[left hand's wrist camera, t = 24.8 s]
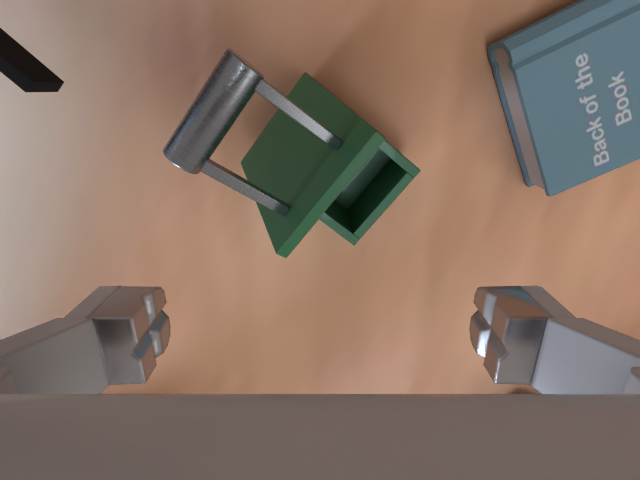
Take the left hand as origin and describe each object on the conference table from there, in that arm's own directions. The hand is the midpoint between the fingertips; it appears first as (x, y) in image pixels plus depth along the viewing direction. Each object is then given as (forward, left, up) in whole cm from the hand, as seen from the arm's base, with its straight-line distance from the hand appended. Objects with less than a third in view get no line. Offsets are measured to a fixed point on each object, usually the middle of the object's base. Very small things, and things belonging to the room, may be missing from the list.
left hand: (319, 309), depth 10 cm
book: (+31, +3, -36) cm, 47 cm away
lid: (-1, +1, -20) cm, 20 cm away
